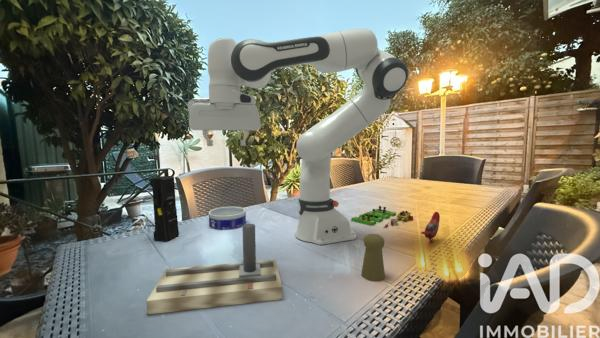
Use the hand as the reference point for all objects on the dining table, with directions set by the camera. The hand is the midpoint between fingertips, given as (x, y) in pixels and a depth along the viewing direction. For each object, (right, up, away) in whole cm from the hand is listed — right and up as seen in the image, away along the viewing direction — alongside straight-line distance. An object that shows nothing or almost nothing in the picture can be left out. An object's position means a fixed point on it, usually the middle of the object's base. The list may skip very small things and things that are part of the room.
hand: (226, 145), depth 80 cm
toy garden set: (+59, -31, +41) cm, 78 cm away
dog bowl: (-9, -31, +35) cm, 48 cm away
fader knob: (+9, -32, -14) cm, 37 cm away
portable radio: (-27, -33, +19) cm, 46 cm away
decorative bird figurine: (+67, -33, +13) cm, 75 cm away
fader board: (+3, -36, -15) cm, 39 cm away
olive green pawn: (+41, -35, -9) cm, 55 cm away
